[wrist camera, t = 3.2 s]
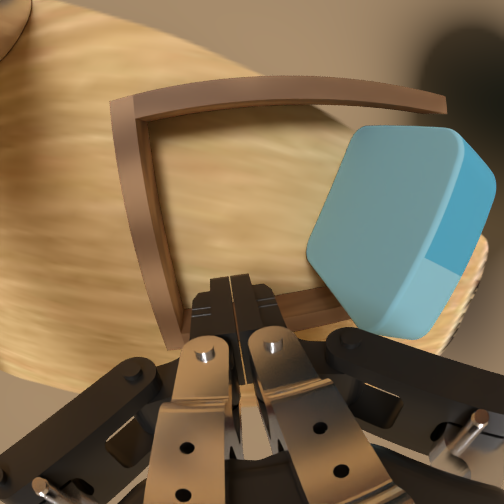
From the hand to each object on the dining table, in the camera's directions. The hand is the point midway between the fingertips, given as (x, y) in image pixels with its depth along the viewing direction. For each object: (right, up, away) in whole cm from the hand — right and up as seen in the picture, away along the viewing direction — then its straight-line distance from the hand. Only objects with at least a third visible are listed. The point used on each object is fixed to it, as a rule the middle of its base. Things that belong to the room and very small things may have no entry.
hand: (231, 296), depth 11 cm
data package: (+9, +6, +12) cm, 16 cm away
